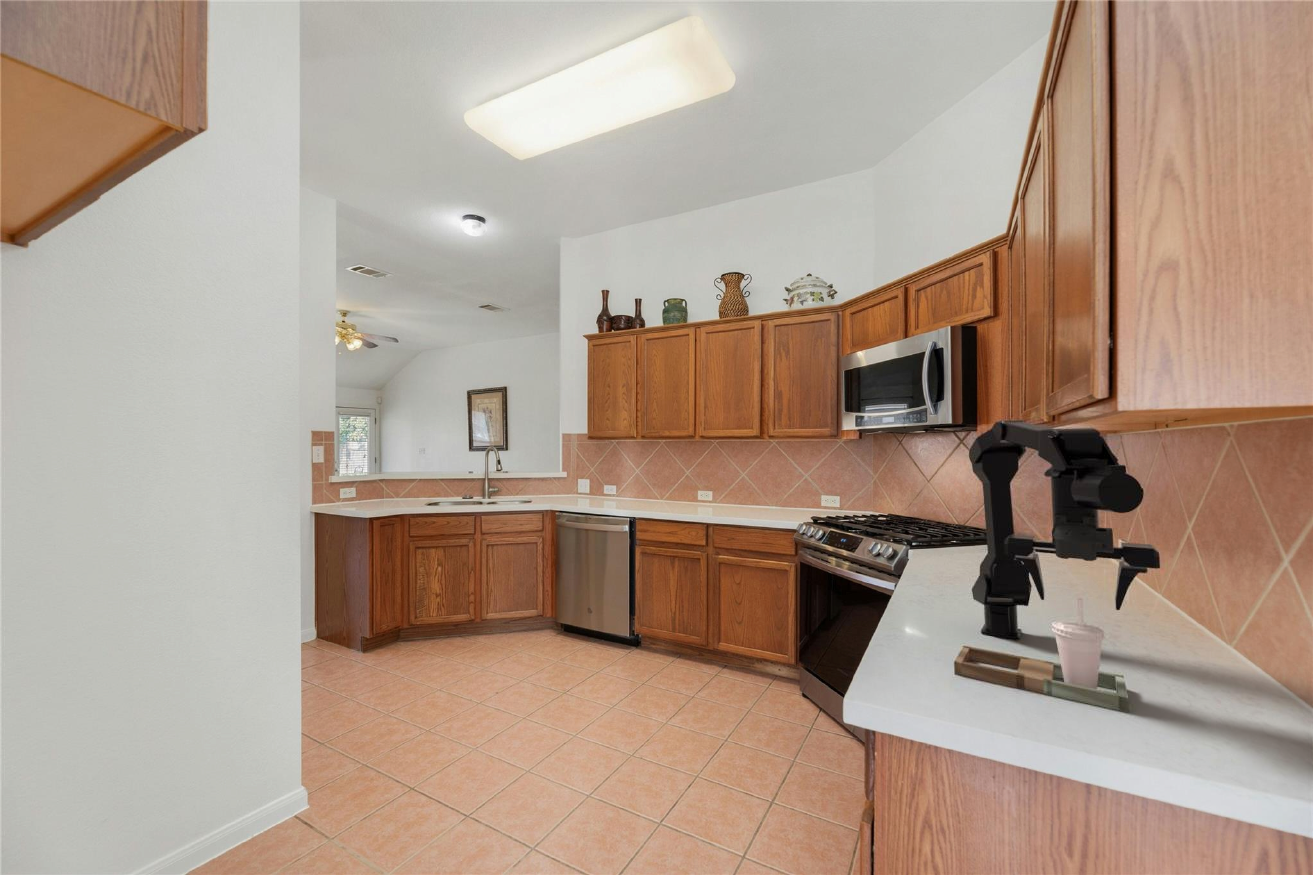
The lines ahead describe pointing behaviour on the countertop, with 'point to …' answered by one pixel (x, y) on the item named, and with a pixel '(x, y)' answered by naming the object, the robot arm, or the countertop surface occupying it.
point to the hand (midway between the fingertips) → (1078, 604)
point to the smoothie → (1079, 650)
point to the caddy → (1040, 677)
